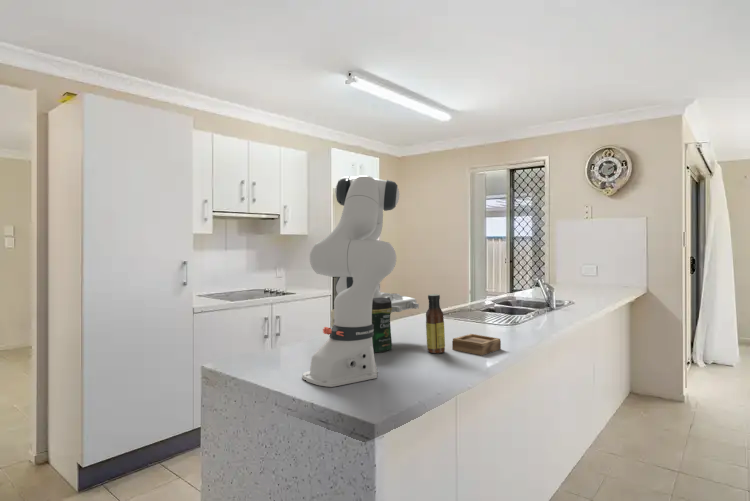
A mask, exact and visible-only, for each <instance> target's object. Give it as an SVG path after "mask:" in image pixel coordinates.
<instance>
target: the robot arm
mask: <svg viewBox="0 0 750 501" xmlns="http://www.w3.org/2000/svg"><path fill="white" fill-rule="evenodd" d="M334 192H335V198H336V202H337V203H338V204H339V205H340V206H343V208H342V213H341V216H340V220H339V222H338V224H337V225H336V227H335V228H334V229H333V231H332V232H331V233H330V234H328V235H327V236H325V238H323V239H322V240H319V241H318V242H316V243H315V244H313V247H311V250H310V253H309V263H310V266H311V269H312V270H313V271H314V273H316V274H317V275H321V276H322V275H323V276H326V277H331V278H333V277H334V278H337V279H336V281H335V286H334V287H335V292H336V296H335V299H334V301H333V305H334V306H333V309H334V324H333V327H327V326H324V327H323V328H322V333H323V335H328V336H329V338H328V339H327V341H325V342H324V344H322V346H320V348H318V350H317V351H315V353H313V355H312V356H311V360H310V368H309V369H310V370H308V371H305V372H302V374H301V377H302V379H303V380H304V381H305V380H306V382H308V383H310V384H313V385H317V386H320V387H327V388H328V387H329V388H332V387H333V388H334V387H338V386H344V385H348V384H354V383H358V382H364V381H367V380H368V381H369V380H372V379H377V378H378V373H379V371H378V368H377V363H376V359H375V352H374V349H373V342H372V336H373V331H374V330H373V324H372V302H373V298H380V297H383V298H389V299H390V300H391V305H392V311H391V313H392V314H393V313H401V312H403V311H407V310H412V309H415V310H417V309H419V308H420V303H417V299H416V298H415V297H409V296H407V295H401V294H400V293H389V292H382V291H380V290H381V289H380V288H381V287H380V283H381V282H382V281H384V279H385V278H387V276H388V275H389V276H390V274H391V273H392V272H393V270H394V269H395V267H396V263H397V253H396V251H395V248H394V246H393V245H392V243H390V242H388V241H383V240H378V239H379V238H380V237H381V234H382V230H383V224H384V211H385V212H387V211H391V210H392V211H393V210H394V209H395V208H396V206H397V205H398V202H399V200H400V190H399V187H398V184H397V183H396V182H395V181H393V180H389V179H387V180H385V179H381V178H374V177H372V176H370V175H366V174H363V175H359V176H350V175H345V176H342V177H341V178H339V179H338V181H337V183H336V186H335V191H334Z"/></svg>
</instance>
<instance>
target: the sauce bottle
mask: <svg viewBox="0 0 750 501" xmlns="http://www.w3.org/2000/svg"><path fill="white" fill-rule="evenodd" d="M427 299H428V309H427V311H426V312H425V328H426V330H425V331H426V332H425V333H426V350H427V352H428V353H430V354H443V353H445V351H446V340H445V339H446V338H445V337H446V336H445V334H446V333H445V321H444V312H443V310H442V308H441V304H440V299H441V296H440V294H439V293H438V294H437V293H436V294H435V293H434V294H433V293H432V294H428V295H427Z"/></svg>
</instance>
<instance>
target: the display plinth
mask: <svg viewBox="0 0 750 501" xmlns="http://www.w3.org/2000/svg"><path fill="white" fill-rule="evenodd" d="M501 345H502V344H501V338H499V337H493V336H487V335H481V334H477V333H475V334H474V333H469V334H466V335H462V336H459V337H458V336H457V337H453V338H452V350H454V351H458V352H462V353H463V352H464V353H468V354H469V353H470V354H474V355H477V356H484V355H488V354H490V352H491V353H493V351H494V352H496V350H497V351H499V349H500V350H501V349H502V348H501V347H502V346H501Z"/></svg>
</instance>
